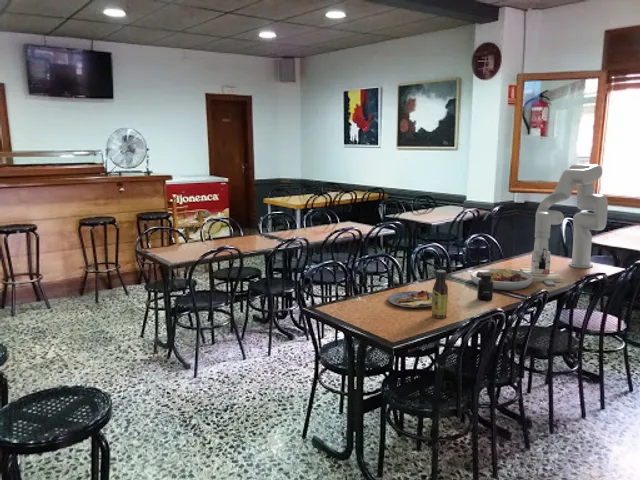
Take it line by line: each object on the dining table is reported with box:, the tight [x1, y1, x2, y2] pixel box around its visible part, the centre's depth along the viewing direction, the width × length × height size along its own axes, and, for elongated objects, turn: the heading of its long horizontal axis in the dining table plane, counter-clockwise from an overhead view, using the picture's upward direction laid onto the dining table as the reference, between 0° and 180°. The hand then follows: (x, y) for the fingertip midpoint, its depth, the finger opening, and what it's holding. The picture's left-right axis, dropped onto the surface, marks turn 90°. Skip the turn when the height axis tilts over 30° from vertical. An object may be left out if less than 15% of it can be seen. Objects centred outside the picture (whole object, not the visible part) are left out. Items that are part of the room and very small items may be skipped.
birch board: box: [519, 267, 564, 283], centre depth 275 cm, size 22×16×2 cm
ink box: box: [530, 250, 552, 273], centre depth 275 cm, size 9×5×12 cm, turn 83°
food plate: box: [387, 290, 433, 308], centre depth 233 cm, size 25×23×4 cm
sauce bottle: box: [431, 269, 449, 319], centre depth 211 cm, size 6×6×20 cm
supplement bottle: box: [476, 273, 494, 302], centre depth 235 cm, size 7×7×12 cm
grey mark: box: [544, 282, 557, 287], centre depth 258 cm, size 4×4×2 cm
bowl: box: [470, 267, 533, 291], centre depth 263 cm, size 30×30×8 cm
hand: (540, 267), depth 276 cm, fingers closed on ink box, 5 cm apart
